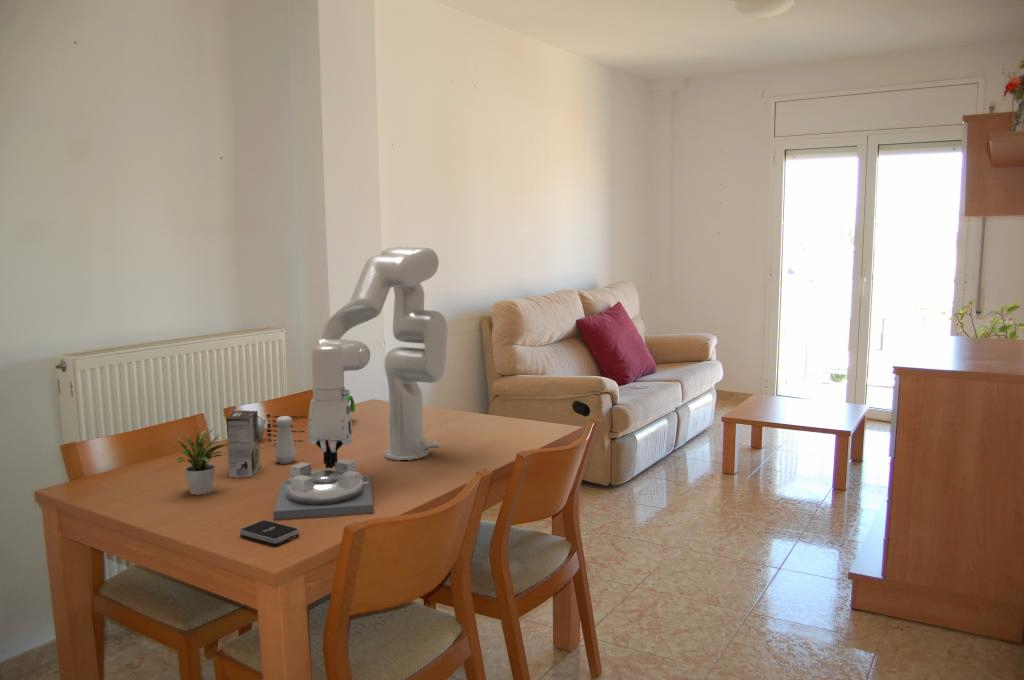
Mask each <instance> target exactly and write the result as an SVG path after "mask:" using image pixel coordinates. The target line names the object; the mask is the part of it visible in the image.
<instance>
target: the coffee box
mask: <svg viewBox="0 0 1024 680" xmlns="http://www.w3.org/2000/svg"><path fill="white" fill-rule="evenodd" d="M258 416H259V415H258V410H240V411H234V412H233V413H232V412H231V414H230V415H228V416H227V418H226V436H227V438H226V439H227V444H232V445H227V456H228V457H227V459H228V460H227V461H228V476H229V477H228V478H252V477H254V476H255V475H256V474H257V472H258V471H259V469H260V468H261V457H260V440H259V432H258Z"/></svg>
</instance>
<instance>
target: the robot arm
mask: <svg viewBox="0 0 1024 680" xmlns="http://www.w3.org/2000/svg"><path fill="white" fill-rule="evenodd" d="M439 261H440V260H439V256H438V254H437V252H435V250H433V249H432V248H429V247H411V246H410V247H408V246H407V247H406V246H405V247H403V246H397V247H388V248H386V249H384V250H382V252H381V253H380V255H379V254H378V255H372V256H371V257H369V258H368V259H366V261H365V264H364V265H363V268H362V271H361V273H360V276H359V278H358V280H357V283H356V286H355V288H354V291H353V293H352V295H351V297H350V300H349V301H348V302H347V303H346V304H344V305H343V306H342V307H341V308H339V309H338V310H336V312H335V313H334V314H332V315H331V316H330V318H329V319H328V320H327V321H326V322H325V323H324V325H323V327H322V329H321V330H320V334H319V335H318V338H317V341H316V343H315V346H313V347H312V350H311V368H312V369H311V371H312V372H311V373H312V395H313V396H312V398H311V400H310V403H309V409H308V410H309V411H308V419H307V435H308V443H309V444H312V445H315V446H317V447H318V448H319V449H320V450H321V452H322V453H323V464H324V465H325V469H334V468H335V462H336V461H338V450H339V449H340V448H341V447H342V446H346V445H350V444H351V443H352V437H351V436H352V434H353V423H352V422H353V420H352V415H351V413H352V412H351V411H350V401H349V402H348V399H346V398H344V397H345V396H349V395H350V396H351V392H350V389H346V387H345V376H344V375H345V372H348V371H359V370H360V371H361V370H362V369H364V368H365V367H366V366H367V365H368V364H369V362H370V360H371V350H370V349H369V346H367V344H365V343H364V342H362V341H360V340H359V341H357V340H348V339H342V337H343V336H344V335H345V334H346V333H347V332H349V331H350V330H351V329H352V328H355V327H356V326H359V325H361V324H363V323H366V322H369V321H370V320H374V319H375V318H378V316H380V314H381V313H382V311H383V307H384V305H385V302H386V300H387V297H388V294H389V293H390V290H391V288H393V291H394V292H393V293H394V300H393V301H394V303H393V318H392V335H393V337H394V338H395V340H397V341H399V342H402V343H408V344H409V343H411V344H421V345H422V344H423V345H424V348H421V347H419V348H418V347H408V346H398V347H394V348H392V349H391V350H389V351H388V352H387V353H386V355H385V358H384V371H385V375H386V380H387V384H388V385H387V387H388V412H389V413H388V415H389V418H388V419H389V448H388V449H386V450H385V451H384V457H386V459H388V460H393V461H400V460H408V461H414V460H413V459H417V460H420V459H419V458H421V459H423V458H422V457H424V456H426V455H427V456H429V449H433V450H434V449H439V448H440V442H439V441H435V440H425V438H424V436H423V435H424V434H423V433H424V429H423V427H424V425H423V421H424V420H423V417H424V416H423V394H422V393H423V392H422V390H421V388H420V386H419V382H420V383H428V384H429V383H430V384H431V383H432V384H433V383H437V382H439V381H441V379H442V378H443V376H444V373H445V370H446V358H447V345H448V322H447V320H446V317H445V315H443V313H442V312H439V311H436V310H429V309H428V310H427V309H426V310H425V291H424V288H423V286H422V284H421V283H423V282H425V281H428V280H430V279H431V278H432V277H434V276H435V274H436V273H437V271H438V269H439ZM330 441H331V444H330ZM427 456H426V457H427ZM424 458H425V457H424Z"/></svg>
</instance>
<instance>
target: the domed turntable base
mask: <svg viewBox="0 0 1024 680" xmlns="http://www.w3.org/2000/svg"><path fill="white" fill-rule="evenodd" d="M289 468H290V471H289V472H290V477H289V478H288V479H287V480H286V481H285V482H286V496H287V498H288V499H289V500H291V501H293V502H297V503H301V504H312V505H320V504H332V503H338V502H343V501H347V500H350V499H353V498H355V497H357V496H359V495H360V494H361V493H362V492H363V477H364V476H363V475H362V474H361V473H360V472H358V471H356V460H351V459H345V458H342V459H339V460H337V461H336V462H335V466H334V468H322V469H313V470H312V463H309V462H303V461H301V462H297V463H296V464H293V465H290V466H289Z"/></svg>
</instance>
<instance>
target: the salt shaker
mask: <svg viewBox="0 0 1024 680" xmlns="http://www.w3.org/2000/svg"><path fill="white" fill-rule="evenodd" d="M289 416H290V415H283V416H282V415H280V417H278V418H276V422H275V425H276V426H277V428H278V429H277V430H278V432H277V434H276V436H277V437H276V440H277V441H275V442H276V444H275V450H274V457H275V459H276V460H277V462H278V463H279V465H288V464H292V463H293V462H294V460H295V457H296V455H297V454H296V453H297V452H296V447H295V443H294V441H293V440H294V438H293V432H291V431H292V429H291V428H292V427H290V425H291V426H292V424H293V418H291V417H289Z"/></svg>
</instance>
